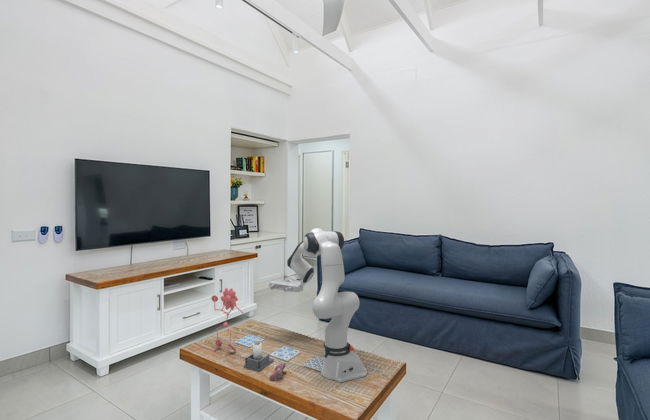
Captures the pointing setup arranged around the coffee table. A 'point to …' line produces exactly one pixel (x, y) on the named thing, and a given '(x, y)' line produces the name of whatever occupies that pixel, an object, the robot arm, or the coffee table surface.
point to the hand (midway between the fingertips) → (278, 289)
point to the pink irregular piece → (278, 371)
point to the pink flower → (228, 302)
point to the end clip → (257, 362)
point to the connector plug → (257, 350)
